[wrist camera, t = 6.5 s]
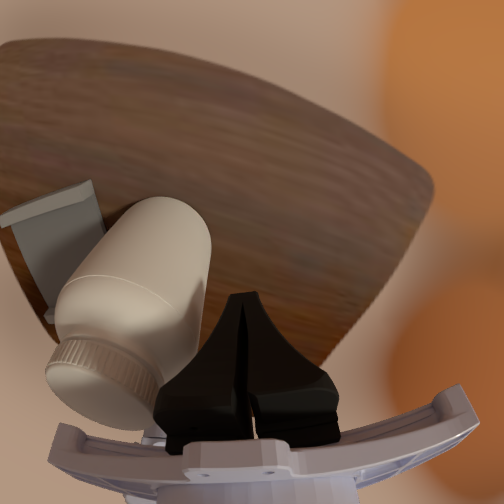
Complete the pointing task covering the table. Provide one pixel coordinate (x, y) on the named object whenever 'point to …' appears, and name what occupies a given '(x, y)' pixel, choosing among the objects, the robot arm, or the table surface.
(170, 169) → the table surface
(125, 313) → the pill bottle
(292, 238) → the table surface
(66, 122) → the table surface
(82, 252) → the grey tray
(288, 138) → the table surface
